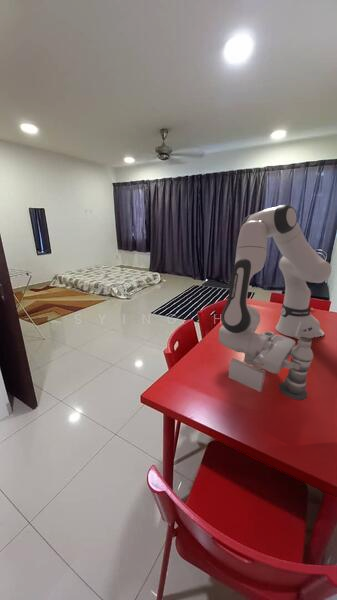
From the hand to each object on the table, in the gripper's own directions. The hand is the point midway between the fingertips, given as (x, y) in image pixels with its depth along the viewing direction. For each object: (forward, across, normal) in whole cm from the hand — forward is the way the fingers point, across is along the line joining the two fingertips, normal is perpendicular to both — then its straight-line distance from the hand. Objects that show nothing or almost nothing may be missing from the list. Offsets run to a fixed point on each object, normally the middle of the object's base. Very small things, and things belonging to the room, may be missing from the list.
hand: (302, 361), depth 79 cm
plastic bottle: (-1, 0, +12) cm, 12 cm away
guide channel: (-16, 0, +12) cm, 20 cm away
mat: (-1, 0, +12) cm, 12 cm away
